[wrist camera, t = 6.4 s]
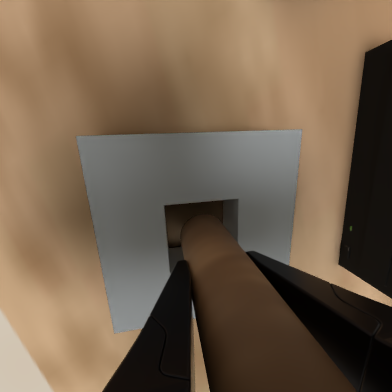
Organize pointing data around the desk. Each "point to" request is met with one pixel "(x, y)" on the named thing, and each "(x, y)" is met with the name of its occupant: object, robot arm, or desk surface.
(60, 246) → the desk surface
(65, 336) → the desk surface
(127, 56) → the desk surface
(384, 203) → the disc drive
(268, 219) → the block
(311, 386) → the walnut pin
